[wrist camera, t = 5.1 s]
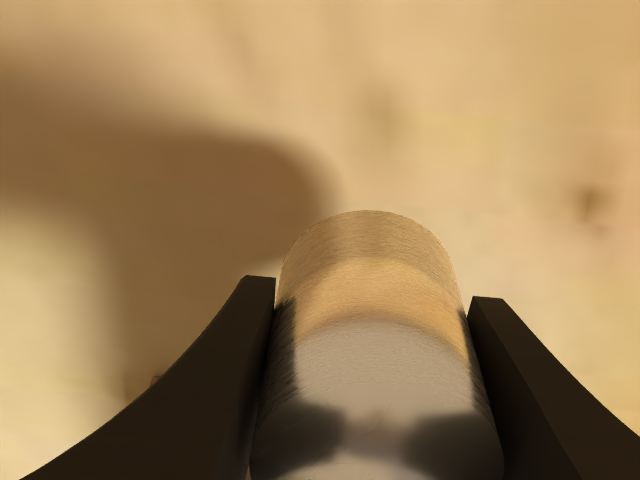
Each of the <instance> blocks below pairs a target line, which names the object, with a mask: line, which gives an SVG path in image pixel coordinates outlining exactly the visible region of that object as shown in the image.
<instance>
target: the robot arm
mask: <svg viewBox="0 0 640 480" xmlns="http://www.w3.org/2000/svg"><path fill="white" fill-rule="evenodd" d="M275 285H276V278H272V277H261V276H250V275H246V276H245V277H243V278H242V279H241V280H240V282H239V283H238V285H237V287H236V288H235V290H234V291H233V293H232V294H231V296H230V297H229V299H228V300H227V302H226V303H225V304H224V306H223V307H222V308H221V310H220V311H219V312H218V314H217V315H216V316H215V318H214V319H213V320H212V321H211V323H210V324H209V325H208V326H207V327H206V329H205V330H204V331H203V332H202V334H201V335H200V336H199V337H198V338H197V339H196V341H195V342H194V343H193V344H192V345H191V346H190V347H189V348H188V349H187V350H186V351H185V352H184V354H183V355H182V356H181V357H180V358H179V359H178V360H177V361H176V362H175V363H174V364H173V365H172V366H171V367H170V368H169V369H168V370H167V371H166V372H165V373H164V374H163V375H162V376H161V377H160V378H159V379H158V380H157V381H156V382H155V383H154V384H153V385H151V386H150V387H149V388H148V389H147V390H146V391H145V392H144V393H142V394H141V395H140V396H139V397H138V398H137V399H136V400H134V401H133V402H132V403H131V404H129V405H128V406H127V407H126V408H124V409H123V410H122V411H121V412H119V413H118V414H117V415H116V416H114V417H113V418H112V419H111V420H109V421H108V422H107V423H105V424H104V425H103V426H101V427H100V428H99V429H97V430H96V431H95V432H93V433H92V434H91V435H89V436H88V437H86V438H85V439H83V440H82V441H80V442H79V443H77V444H76V445H74V446H73V447H71V448H70V449H68V450H67V451H65V452H64V453H62V454H61V455H59V456H58V457H56V458H55V459H53V460H52V461H50V462H49V463H47V464H45V465H44V466H42V467H41V468H39V469H37V470H36V471H34V472H32V473H30V474H29V475H27V476H25V477H23V478H22V479H20V480H245V479H246V475H247V471H248V467H249V460H250V453H251V447H252V441H253V435H254V429H255V423H256V417H257V411H258V405H259V399H260V393H261V387H262V381H263V375H264V369H265V363H266V357H267V351H268V345H269V339H270V333H271V327H272V321H273V315H274V303H275ZM467 322H468V325H469V329H470V333H471V336H472V340H473V344H474V347H475V351H476V355H477V359H478V362H479V366H480V370H481V373H482V377H483V381H484V384H485V388H486V392H487V396H488V399H489V403H490V407H491V410H492V414H493V418H494V422H495V425H496V429H497V433H498V436H499V440H500V444H501V447H502V451H503V457H504V475H503V479H502V480H640V437H639V436H638V435H637V434H636V433H635V432H633V431H632V430H631V429H630V428H628V427H627V426H626V425H625V424H624V423H622V422H621V421H620V420H619V419H618V418H617V417H616V416H614V415H613V414H612V413H611V412H610V411H609V410H608V409H607V408H606V407H604V406H603V405H602V404H601V403H600V402H599V401H598V400H597V399H596V398H595V397H594V396H593V395H592V394H591V393H590V392H589V391H588V390H587V389H586V388H585V387H584V386H582V385H581V384H580V383H579V382H578V381H577V380H576V378H575V377H574V376H573V375H572V374H571V373H570V372H569V371H568V370H567V369H566V368H565V367H564V366H563V365H562V364H561V363H560V362H559V361H558V360H557V359H556V358H555V357H554V356H553V354H552V353H551V352H550V351H549V350H548V349H547V348H546V347H545V346H544V345H543V344H542V342H541V341H540V340H539V339H538V338H537V337H536V336H535V335H534V333H533V332H532V331H531V330H530V329H529V328H528V327H527V326H526V324H525V323H524V322H523V321H522V320H521V319H520V318H519V316H518V315H517V314H516V313H515V312H514V311H513V310H512V309H511V307H510V306H509V305H508V304H507V303H506V302H505V301H504V300H503V299H501V298H490V297H479V296H473V297H472V301H471V304H470V308H469V311H468V315H467Z"/></svg>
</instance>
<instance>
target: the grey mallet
mask: <svg viewBox="0 0 640 480" xmlns="http://www.w3.org/2000/svg"><path fill="white" fill-rule="evenodd" d="M249 469H250V476H251V480H502V479H503V475H504V457H503V451H502V447H501V444H500V440H499V436H498V433H497V429H496V425H495V422H494V418H493V414H492V410H491V407H490V403H489V399H488V396H487V392H486V388H485V384H484V381H483V377H482V373H481V370H480V366H479V362H478V359H477V355H476V351H475V347H474V344H473V340H472V336H471V333H470V329H469V325H468V322H467V318H466V314H465V310H464V307H463V303H462V299H461V296H460V292H459V288H458V284H457V281H456V277H455V273H454V270H453V266H452V263H451V260H450V257H449V255H448V253H447V251H446V249H445V248H444V246H443V245H442V244H441V242H440V241H439V240H438V239H437V238H436V237H435V236H434V235H433V234H432V233H431V232H430V231H429V230H427V229H426V228H425V227H423V226H422V225H420V224H418V223H416V222H415V221H413V220H411V219H408V218H406V217H403V216H400V215H397V214H393V213H389V212H382V211H368V210H365V211H353V212H348V213H343V214H339V215H336V216H333V217H330V218H328V219H326V220H323V221H321V222H319V223H317V224H316V225H314V226H313V227H311V228H309V229H308V230H307V231H306V232H305V233H303V234H302V235H301V236H300V237H299V238H298V239H297V240H296V241H295V242H294V244H293V245H292V247H291V248H290V249H289V251H288V253H287V255H286V257H285V259H284V261H283V265H282V268H281V273H280V279H279V285H278V291H277V297H276V303H275V309H274V315H273V321H272V327H271V333H270V339H269V345H268V351H267V357H266V363H265V369H264V375H263V381H262V387H261V393H260V399H259V405H258V411H257V417H256V423H255V429H254V435H253V441H252V447H251V453H250V460H249Z"/></svg>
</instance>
